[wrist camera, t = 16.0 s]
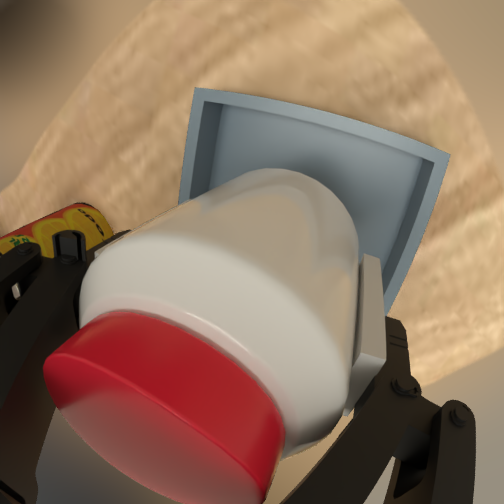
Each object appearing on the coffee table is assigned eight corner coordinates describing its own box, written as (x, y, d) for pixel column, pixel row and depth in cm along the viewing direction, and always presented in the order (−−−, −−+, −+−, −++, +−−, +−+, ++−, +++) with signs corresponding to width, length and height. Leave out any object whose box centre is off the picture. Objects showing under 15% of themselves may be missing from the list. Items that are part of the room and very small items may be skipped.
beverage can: (103, 196, 28) (3, 242, 17) (128, 280, 31) (47, 345, 20) (55, 208, 31) (-28, 247, 20) (77, 278, 34) (6, 329, 24)
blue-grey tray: (187, 323, 30) (168, 346, 27) (219, 91, 21) (194, 87, 17) (337, 377, 27) (332, 407, 24) (434, 148, 18) (450, 154, 14)
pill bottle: (218, 146, 14) (-20, 227, 4) (386, 204, 12) (430, 446, 3) (191, 285, 17) (52, 431, 8) (323, 339, 16) (260, 542, 6)
